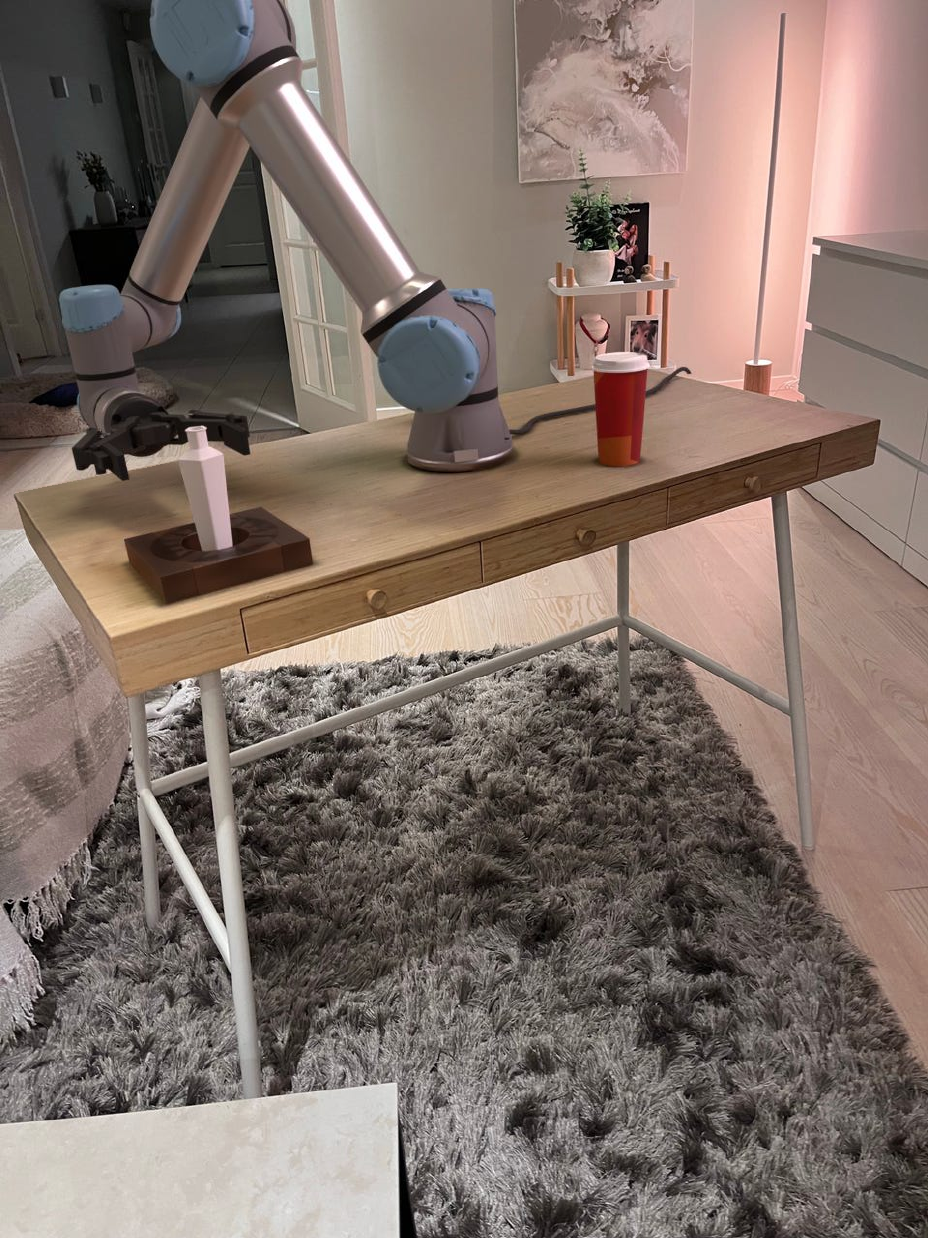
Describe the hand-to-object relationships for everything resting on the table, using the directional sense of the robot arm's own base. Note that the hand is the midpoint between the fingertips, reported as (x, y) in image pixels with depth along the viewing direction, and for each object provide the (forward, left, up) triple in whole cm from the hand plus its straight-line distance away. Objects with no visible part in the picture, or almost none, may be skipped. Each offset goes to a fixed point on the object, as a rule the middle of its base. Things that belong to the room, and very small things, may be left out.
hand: (186, 455), depth 102 cm
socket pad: (0, +6, -11) cm, 12 cm away
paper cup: (-57, +6, -11) cm, 58 cm away
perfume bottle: (0, +6, -11) cm, 12 cm away
